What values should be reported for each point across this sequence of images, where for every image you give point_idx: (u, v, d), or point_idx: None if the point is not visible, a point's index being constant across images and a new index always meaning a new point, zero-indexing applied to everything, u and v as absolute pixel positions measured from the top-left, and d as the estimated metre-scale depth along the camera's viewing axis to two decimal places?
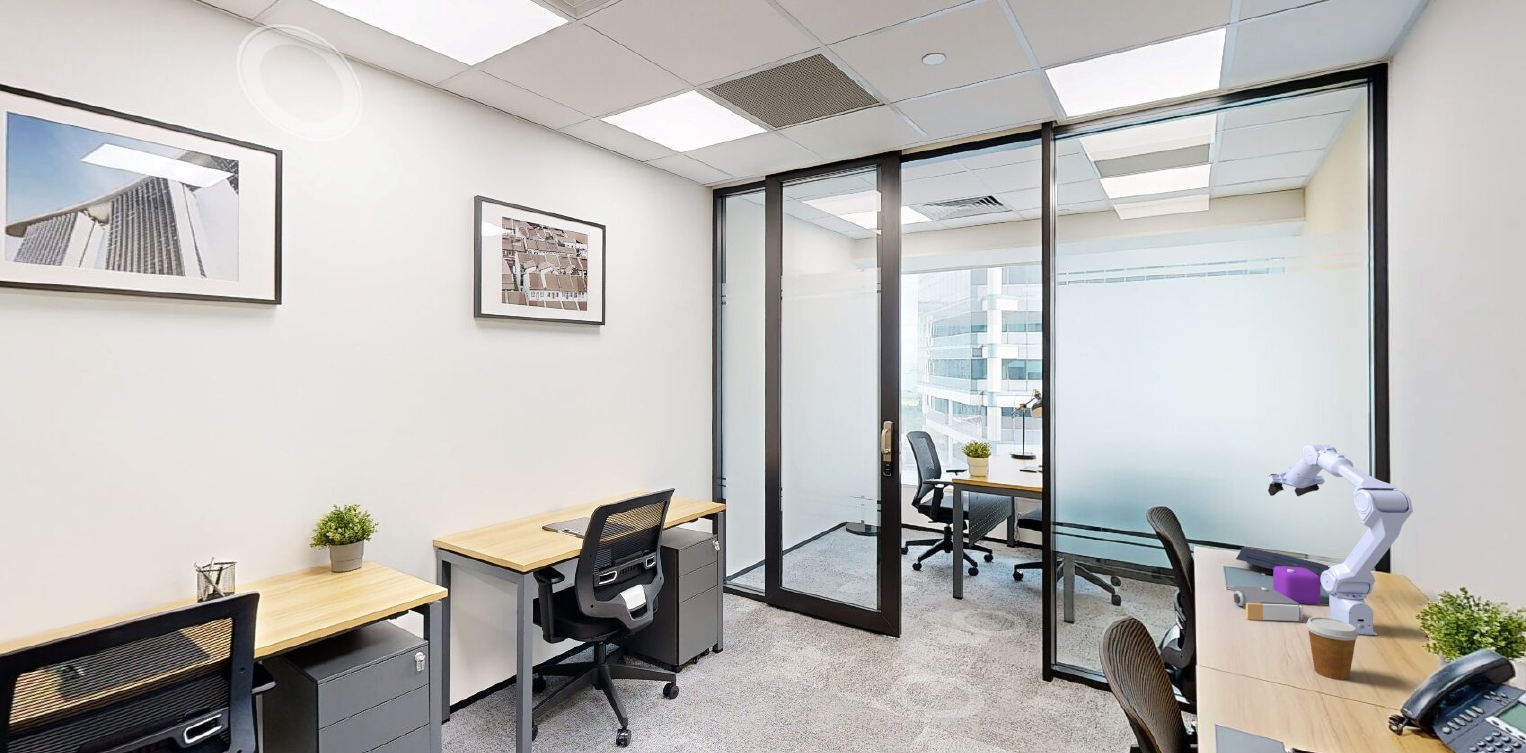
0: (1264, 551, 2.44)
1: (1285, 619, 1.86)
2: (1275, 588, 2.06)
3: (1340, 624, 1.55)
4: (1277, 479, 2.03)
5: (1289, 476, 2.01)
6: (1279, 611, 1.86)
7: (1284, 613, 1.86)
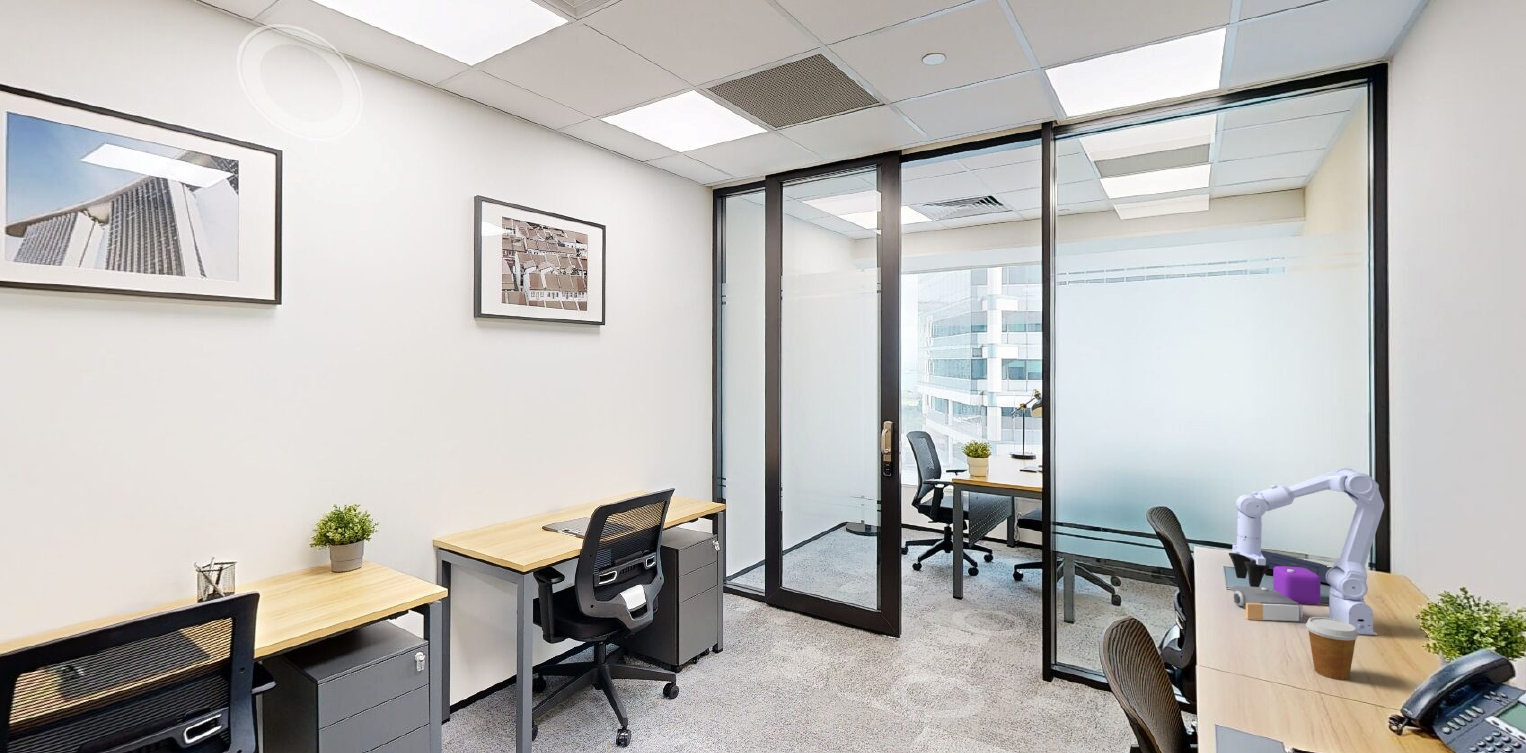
0: (1263, 551, 2.44)
1: (1285, 619, 1.86)
2: (1275, 588, 2.06)
3: (1340, 624, 1.55)
4: None
5: (1254, 550, 1.87)
6: (1279, 611, 1.86)
7: (1284, 613, 1.86)
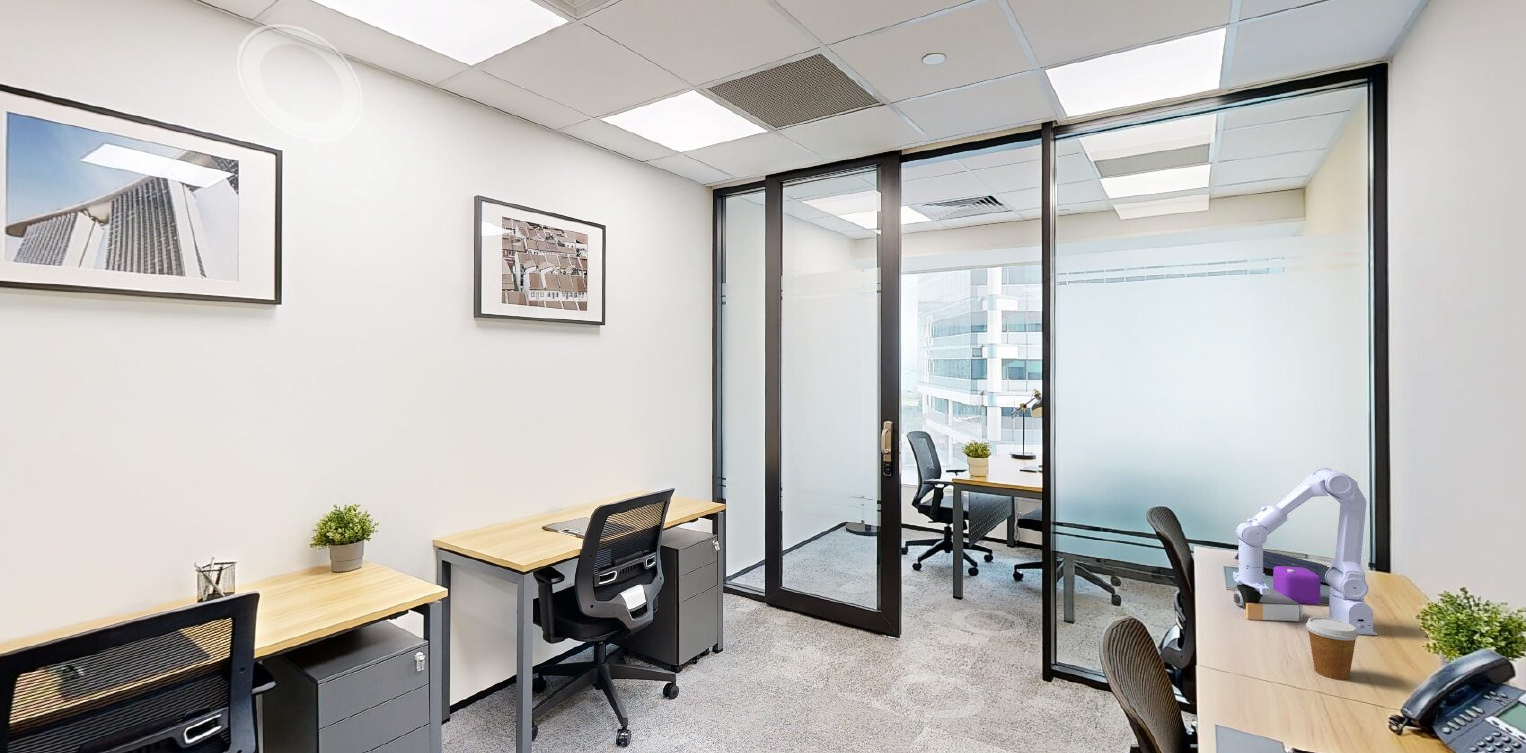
0: (1263, 551, 2.44)
1: (1285, 619, 1.86)
2: (1275, 588, 2.06)
3: (1340, 624, 1.55)
4: None
5: (1256, 578, 1.86)
6: (1279, 611, 1.86)
7: (1284, 613, 1.86)
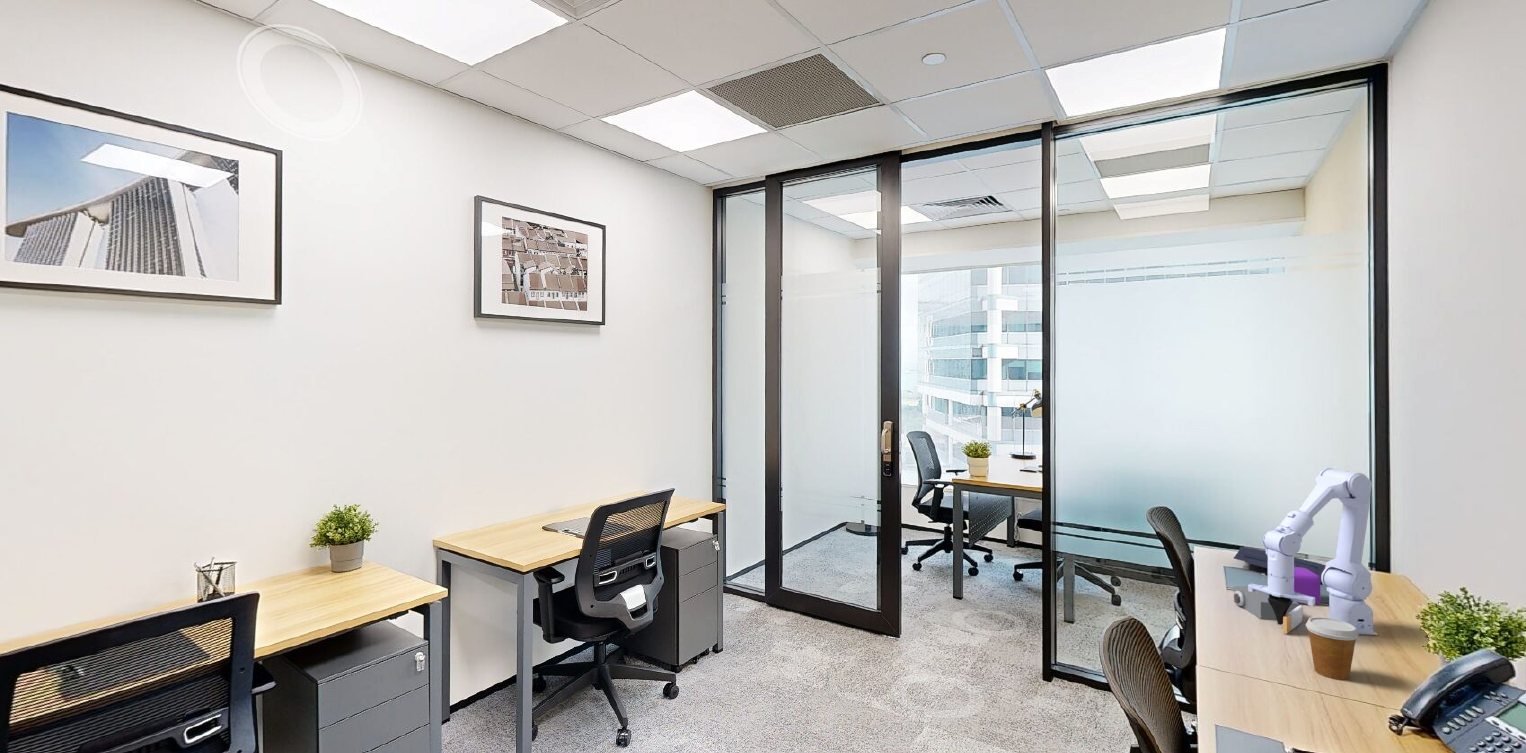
0: (1263, 551, 2.44)
1: (1298, 623, 1.83)
2: None
3: (1339, 624, 1.55)
4: None
5: (1293, 589, 1.77)
6: (1296, 617, 1.82)
7: (1297, 618, 1.83)
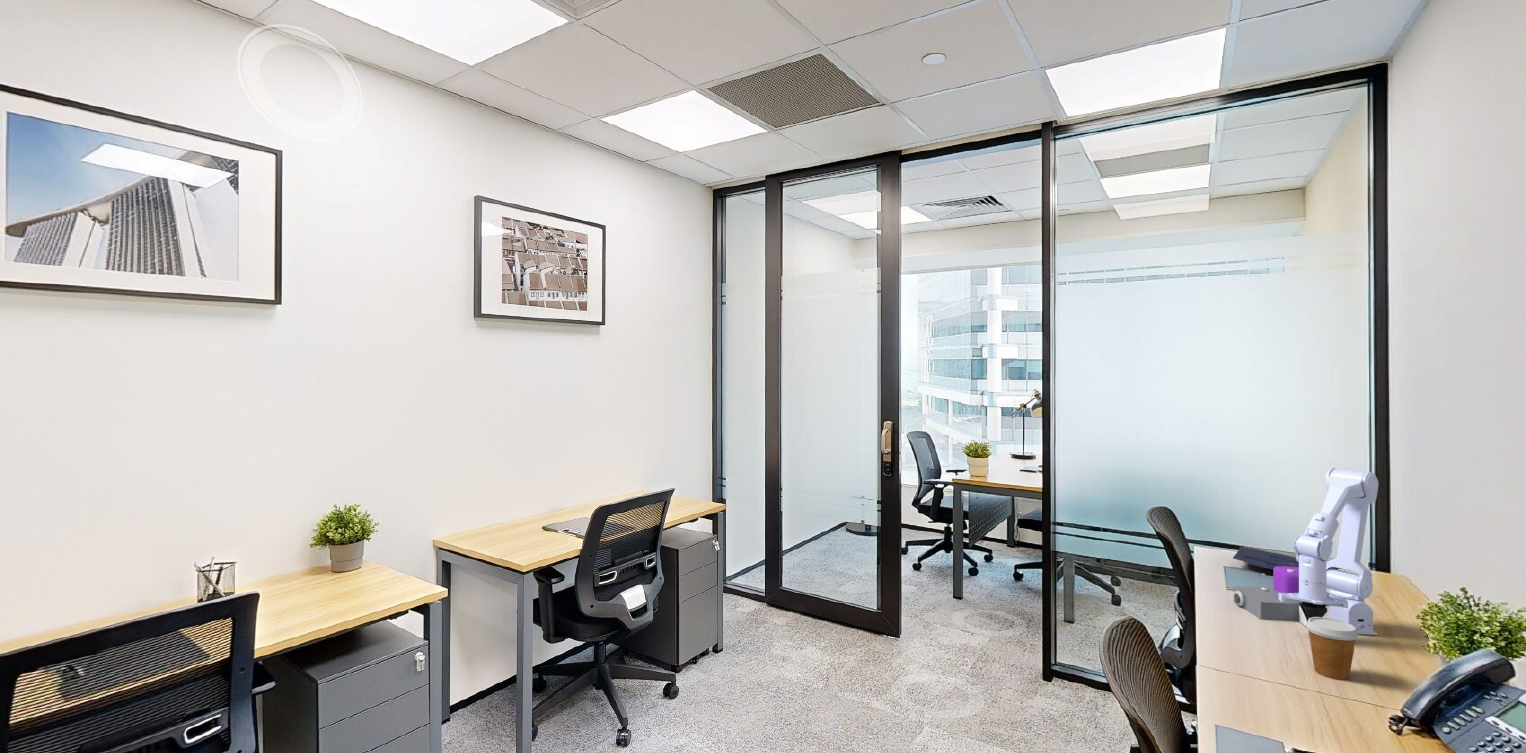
0: (1262, 551, 2.45)
1: None
2: (1275, 588, 2.06)
3: (1340, 624, 1.55)
4: None
5: None
6: None
7: None
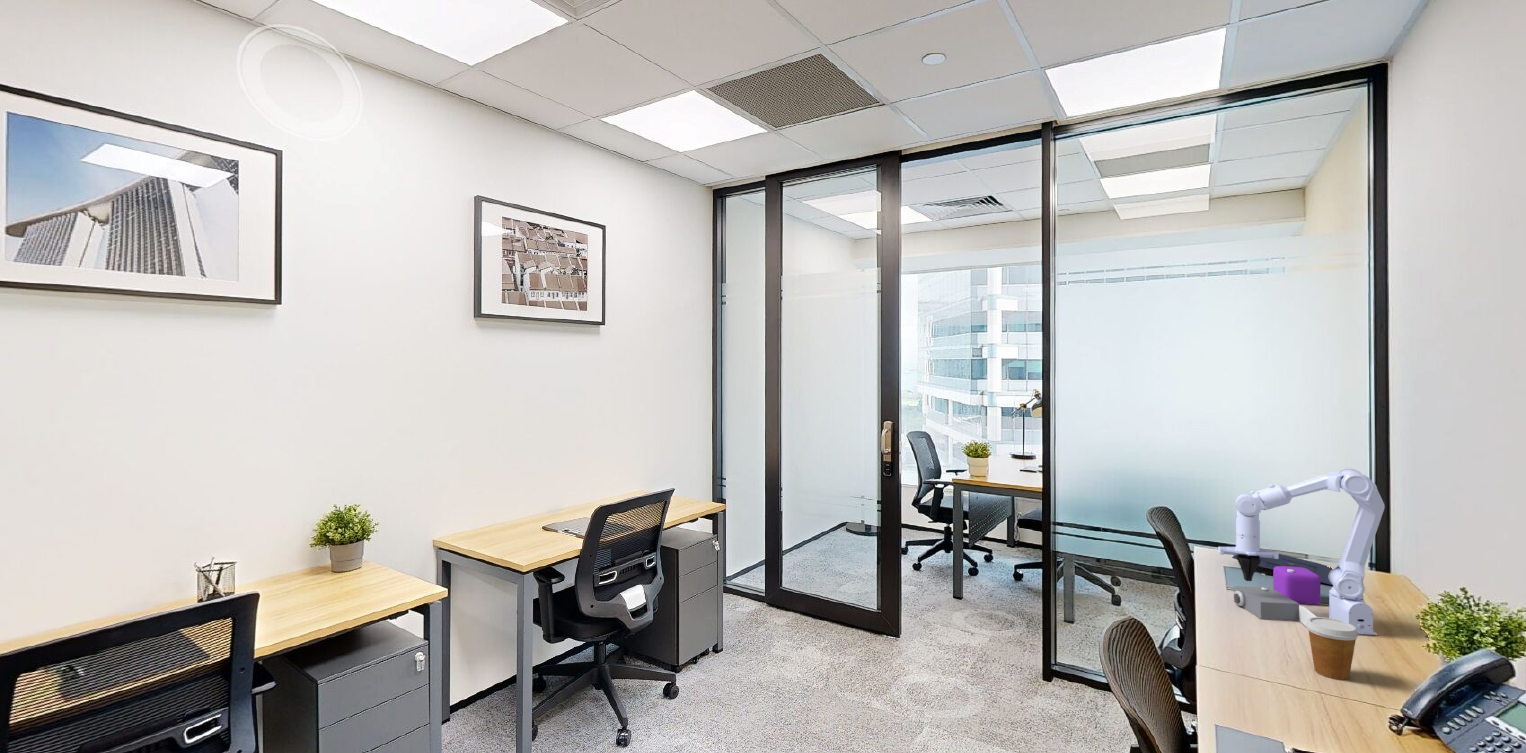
0: None
1: None
2: (1275, 588, 2.06)
3: (1340, 624, 1.55)
4: None
5: None
6: None
7: None
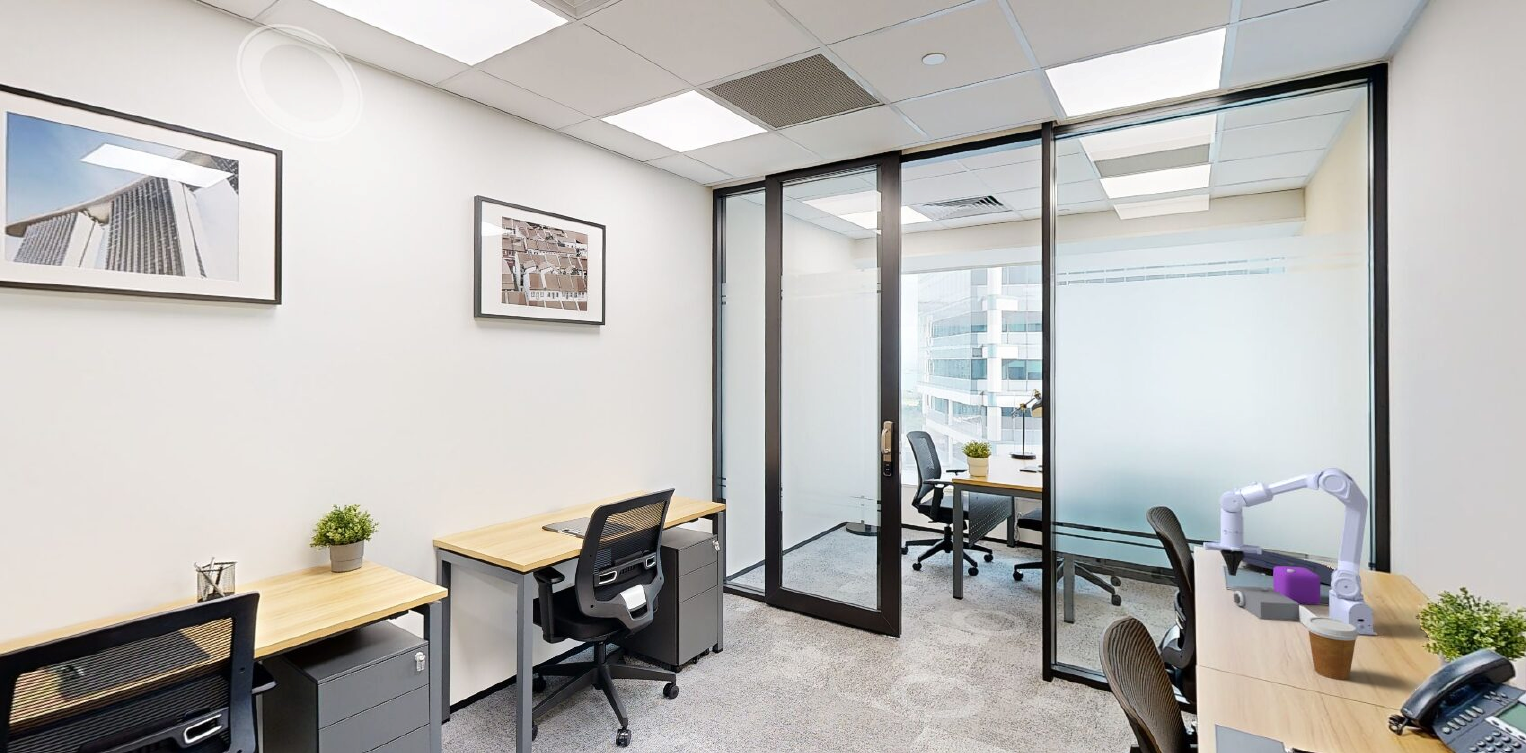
0: None
1: None
2: (1275, 588, 2.06)
3: (1340, 624, 1.55)
4: None
5: None
6: None
7: None
